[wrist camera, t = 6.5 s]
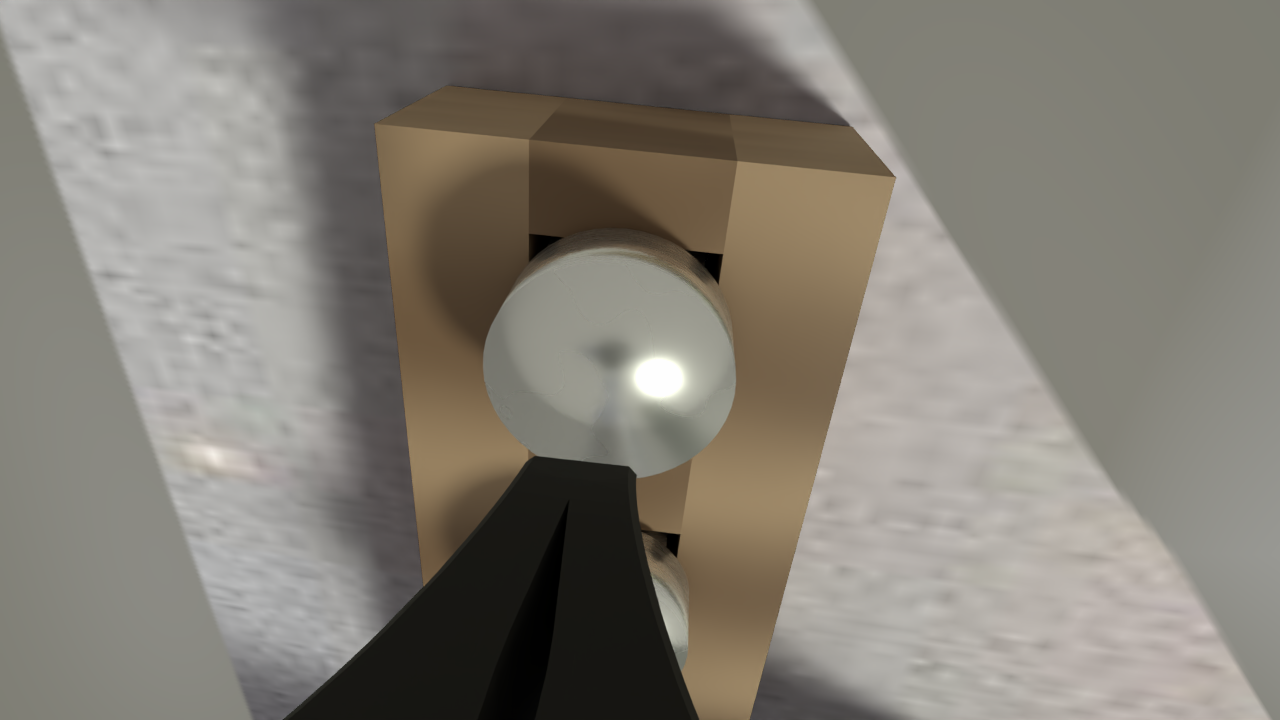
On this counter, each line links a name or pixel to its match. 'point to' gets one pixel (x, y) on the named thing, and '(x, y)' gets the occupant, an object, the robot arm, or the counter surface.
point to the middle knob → (669, 590)
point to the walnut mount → (696, 221)
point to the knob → (613, 352)
